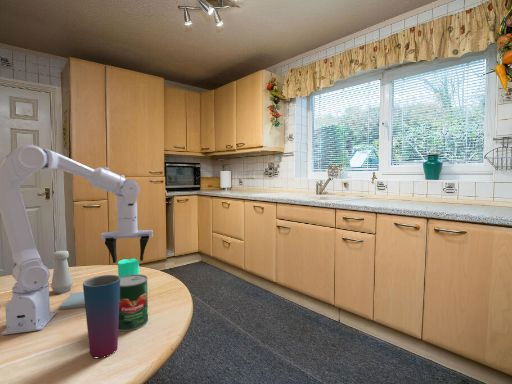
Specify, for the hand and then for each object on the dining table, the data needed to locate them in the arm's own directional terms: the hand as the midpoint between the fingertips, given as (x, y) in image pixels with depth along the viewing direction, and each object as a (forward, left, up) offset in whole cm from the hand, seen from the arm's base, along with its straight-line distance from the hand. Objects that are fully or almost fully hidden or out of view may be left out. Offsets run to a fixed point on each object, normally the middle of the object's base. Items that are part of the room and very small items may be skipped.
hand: (128, 261), depth 89 cm
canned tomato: (-20, -3, -11) cm, 23 cm away
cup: (-31, +1, -11) cm, 33 cm away
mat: (-1, +12, -10) cm, 16 cm away
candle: (0, 0, -11) cm, 11 cm away
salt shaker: (+9, +21, -11) cm, 25 cm away
